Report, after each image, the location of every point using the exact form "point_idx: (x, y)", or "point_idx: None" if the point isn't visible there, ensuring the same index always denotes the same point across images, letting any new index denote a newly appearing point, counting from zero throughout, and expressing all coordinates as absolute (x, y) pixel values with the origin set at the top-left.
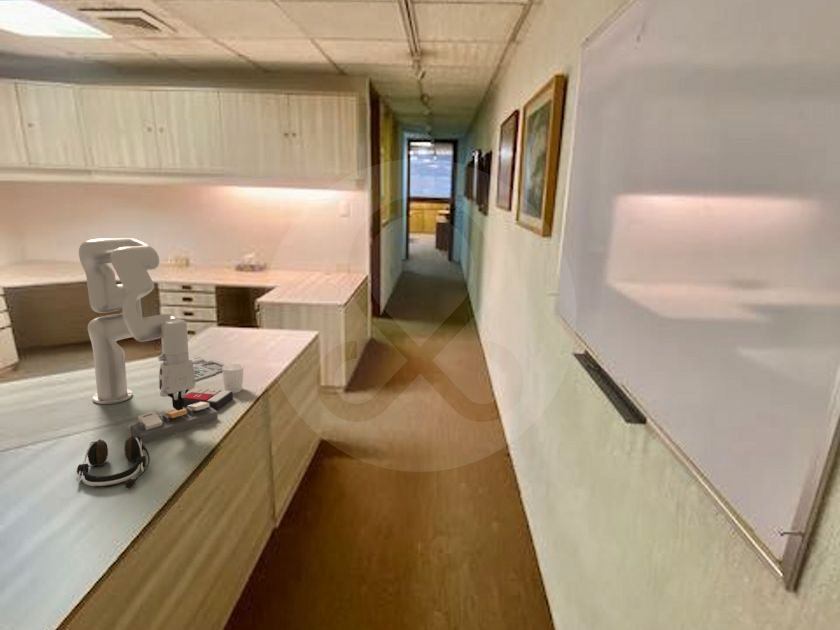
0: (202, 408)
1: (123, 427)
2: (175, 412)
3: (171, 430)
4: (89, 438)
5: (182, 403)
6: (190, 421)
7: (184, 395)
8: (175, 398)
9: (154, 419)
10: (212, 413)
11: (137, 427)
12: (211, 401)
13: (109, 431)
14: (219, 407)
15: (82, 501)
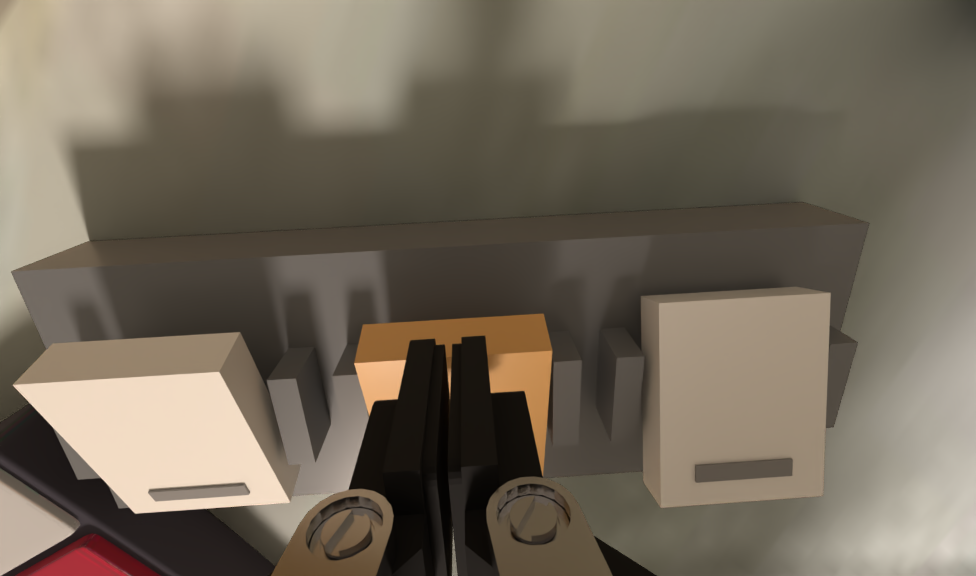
0: (149, 340)
1: (734, 509)
2: (491, 372)
3: (561, 225)
4: (941, 485)
5: (403, 397)
6: (358, 246)
7: (307, 544)
8: (547, 513)
9: (714, 376)
10: (85, 265)
11: None
12: (36, 497)
13: (818, 505)
14: (16, 414)
15: None
